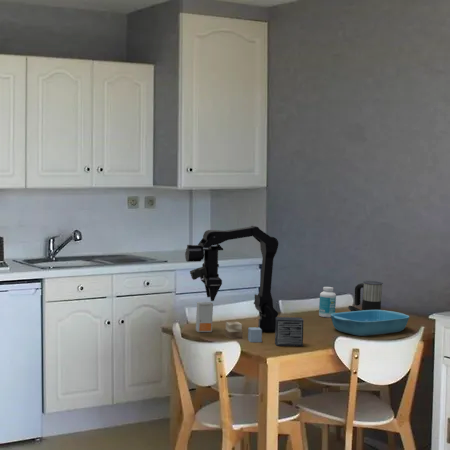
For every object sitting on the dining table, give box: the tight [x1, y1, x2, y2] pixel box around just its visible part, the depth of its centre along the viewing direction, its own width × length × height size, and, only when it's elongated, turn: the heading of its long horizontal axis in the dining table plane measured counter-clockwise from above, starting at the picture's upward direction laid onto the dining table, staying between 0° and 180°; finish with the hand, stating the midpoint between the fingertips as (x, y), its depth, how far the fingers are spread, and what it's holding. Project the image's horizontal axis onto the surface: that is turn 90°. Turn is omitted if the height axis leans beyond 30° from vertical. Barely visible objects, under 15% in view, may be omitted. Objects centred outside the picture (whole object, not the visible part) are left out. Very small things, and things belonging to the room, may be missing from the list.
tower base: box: [224, 328, 244, 340], centre depth 357 cm, size 6×6×3 cm
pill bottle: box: [318, 286, 337, 319], centre depth 409 cm, size 8×7×14 cm
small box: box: [274, 316, 305, 347], centre depth 347 cm, size 11×6×10 cm, turn 92°
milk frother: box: [348, 280, 384, 312], centre depth 420 cm, size 14×16×15 cm
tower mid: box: [225, 321, 243, 332], centre depth 357 cm, size 5×5×3 cm
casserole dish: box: [331, 309, 410, 337], centre depth 381 cm, size 37×22×7 cm, turn 126°
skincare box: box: [195, 301, 214, 333], centre depth 367 cm, size 6×4×12 cm
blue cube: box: [247, 327, 263, 343], centre depth 352 cm, size 4×4×5 cm
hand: (210, 299), depth 363 cm, fingers open, 9 cm apart
